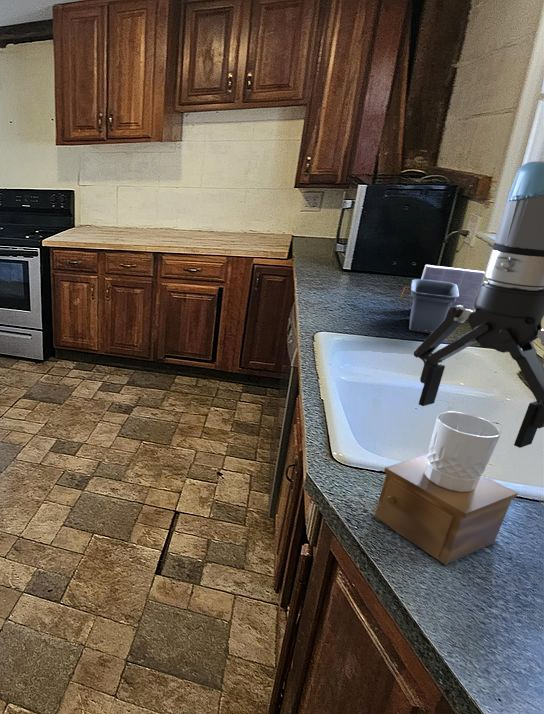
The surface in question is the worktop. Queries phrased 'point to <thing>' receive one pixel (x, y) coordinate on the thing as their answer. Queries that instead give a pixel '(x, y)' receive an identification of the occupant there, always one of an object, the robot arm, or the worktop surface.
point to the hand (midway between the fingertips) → (470, 422)
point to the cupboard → (441, 511)
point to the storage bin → (430, 303)
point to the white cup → (460, 450)
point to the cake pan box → (457, 282)
